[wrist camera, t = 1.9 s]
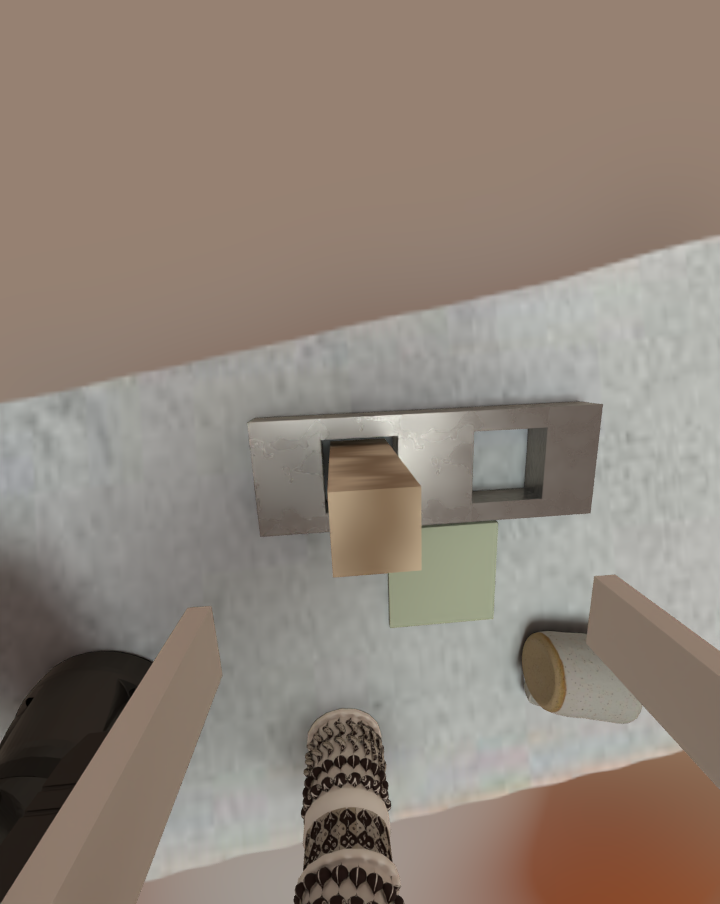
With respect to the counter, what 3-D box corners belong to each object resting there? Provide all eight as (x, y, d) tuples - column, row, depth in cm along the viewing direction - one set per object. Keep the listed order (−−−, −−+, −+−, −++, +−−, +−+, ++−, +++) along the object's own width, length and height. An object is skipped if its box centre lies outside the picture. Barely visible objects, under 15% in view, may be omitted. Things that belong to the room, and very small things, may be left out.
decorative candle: (387, 763, 41) (464, 1337, 17) (308, 774, 40) (268, 1383, 16) (382, 700, 39) (464, 1251, 14) (299, 711, 38) (239, 1300, 14)
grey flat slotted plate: (266, 522, 33) (260, 536, 30) (255, 418, 31) (246, 422, 28) (568, 501, 35) (590, 513, 32) (578, 401, 33) (602, 404, 30)
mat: (389, 624, 37) (390, 628, 36) (386, 528, 34) (387, 530, 34) (491, 615, 37) (493, 618, 37) (495, 520, 35) (498, 522, 34)
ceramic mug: (525, 614, 38) (572, 675, 30) (595, 618, 38) (657, 678, 31) (504, 693, 40) (543, 768, 33) (570, 695, 41) (623, 769, 33)
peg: (333, 492, 33) (333, 577, 19) (330, 441, 32) (327, 492, 18) (385, 489, 33) (421, 570, 20) (384, 438, 32) (421, 486, 19)
